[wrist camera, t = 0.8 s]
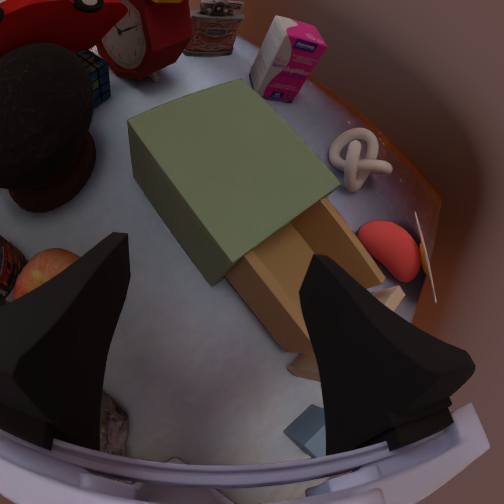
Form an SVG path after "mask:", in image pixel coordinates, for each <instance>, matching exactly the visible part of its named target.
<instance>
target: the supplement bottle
mask: <svg viewBox="0 0 504 504" xmlns="http://www.w3.org/2000/svg"><path fill="white" fill-rule="evenodd" d="M26 264H27V262H26V259H25V257H24V256H23V254H22V253H21V252H20V251H19V250H18V249H17V248H16V247H14V246H13V245H12V244H11V242H10V243H9V242H8V241H7V240H6V239H4V238H3V237H2V236H0V306H3V305H5V304H7V303H9V302H11V301H13V294H14V286H15V283H16V280H17V278H18V276H19V274H20V273H21V271H22V270H23V268H24V267H25V266H26Z"/></svg>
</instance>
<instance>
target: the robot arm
mask: <svg viewBox="0 0 504 504" xmlns="http://www.w3.org/2000/svg"><path fill="white" fill-rule="evenodd" d="M130 277H131V274H130V261H129V245H128V234H126V233H117V232H113V233H111V234H110V235H108V236H107V237H106V238H104V239H103V240H102V241H101V242H99V243H98V244H97V245H95V246H94V247H93V248H92V249H90V250H89V251H88V252H87V253H85V254H84V255H83V256H82V257H80V258H79V259H78V260H76V261H75V262H74V263H72V264H71V265H70V266H68V267H67V268H65V269H64V270H63V271H62V272H60V273H59V274H57V275H56V276H54V277H53V278H51V279H50V280H48V281H47V282H45V283H43V284H42V285H40V286H39V287H37V288H35V289H34V290H32V291H30V292H28V293H26V294H24V295H23V296H21V297H19V298H17V299H15V300H13V301H11V302H9V303H7V304H5V305H3V306H0V494H1V495H3V496H4V497H6V498H8V499H9V500H11V501H12V502H14V503H16V504H235V503H234V502H232V501H231V500H230V499H228V498H227V497H225V496H224V495H223V494H221V493H220V492H219V491H217V490H216V489H226V488H251V487H264V486H274V485H283V484H290V483H297V482H303V481H309V480H314V479H319V478H324V477H329V476H333V475H338V474H341V473H346V472H350V471H352V472H351V473H349V474H346V475H343V476H340V477H336V478H333V479H330V480H328V481H327V482H325V483H323V484H320V485H318V486H315V487H311V488H308V489H306V490H305V494H306V497H305V498H299V499H293V500H286V501H279V502H271V503H261V504H416V503H417V502H419V501H420V500H422V499H424V498H425V497H427V496H428V495H430V494H431V493H432V492H434V491H435V490H437V489H438V488H439V487H441V486H442V485H444V484H445V483H446V482H448V481H449V480H450V479H451V478H453V477H454V476H456V475H457V474H458V473H459V472H461V471H462V470H463V469H464V468H465V467H467V466H468V465H469V464H470V463H472V462H473V461H474V460H475V459H477V458H478V457H479V456H481V455H482V454H483V453H485V452H486V451H487V450H488V449H489V448H490V445H489V442H488V440H487V437H486V435H485V432H484V430H483V428H482V425H481V423H480V421H479V418H478V416H477V414H476V412H475V410H474V407H473V405H472V403H468V404H466V405H464V406H461V407H459V408H457V409H455V410H454V411H452V412H451V413H450V411H449V409H448V407H450V406H451V405H452V402H451V400H450V398H449V397H450V396H451V395H452V394H453V393H455V392H456V391H457V390H458V389H459V388H460V387H461V386H462V385H463V384H464V383H465V382H466V381H467V380H468V379H469V378H470V377H471V376H472V375H473V373H474V371H475V364H474V362H473V361H472V359H471V357H470V355H469V354H468V353H467V352H466V351H465V350H462V349H460V348H457V347H455V346H453V345H450V344H448V343H445V342H443V341H441V340H439V339H437V338H435V337H433V336H431V335H429V334H428V333H426V332H424V331H422V330H421V329H419V328H417V327H416V326H414V325H413V324H411V323H409V322H408V321H406V320H405V319H403V318H402V317H400V316H399V315H398V314H396V313H395V312H393V311H392V310H391V309H389V308H388V307H387V306H385V305H384V304H383V303H382V302H380V301H379V300H378V299H377V298H376V297H374V296H373V295H372V294H371V293H370V292H368V291H367V290H366V289H365V288H364V287H363V286H362V285H361V284H359V283H358V282H357V281H356V280H355V279H354V278H353V277H352V276H351V275H350V274H348V273H347V272H346V271H345V270H344V269H343V268H342V267H341V266H340V265H338V264H337V263H336V262H335V261H334V260H332V259H331V258H330V257H328V256H327V255H319V254H313V256H312V259H311V262H310V264H309V267H308V269H307V272H306V275H305V277H304V280H303V282H302V285H301V287H300V290H299V298H300V305H301V311H302V315H303V319H304V322H305V325H306V328H307V332H308V335H309V338H310V341H311V344H312V348H313V351H314V354H315V357H316V361H317V365H318V370H319V376H320V382H321V388H322V396H323V404H324V416H325V433H326V456H323V457H317V458H311V459H305V460H298V461H290V462H282V463H271V464H258V465H234V466H211V465H188V464H185V463H184V462H183V461H181V460H180V459H179V458H172V459H171V460H169V461H168V462H166V463H164V462H156V461H148V460H141V459H135V458H129V457H123V456H118V455H113V454H109V453H104V452H100V451H99V450H100V413H101V398H102V389H103V381H104V373H105V367H106V361H107V355H108V351H109V347H110V344H111V341H112V337H113V334H114V331H115V328H116V325H117V322H118V319H119V316H120V313H121V311H122V308H123V305H124V302H125V299H126V295H127V291H128V286H129V282H130ZM93 473H96V474H100V475H104V476H109V477H113V478H118V479H123V480H128V481H134V483H132V484H126V483H122V482H118V481H114V480H111V479H107V478H104V477H100V476H97V475H94V474H93Z"/></svg>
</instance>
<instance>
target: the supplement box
mask: <svg viewBox="0 0 504 504" xmlns="http://www.w3.org/2000/svg"><path fill="white" fill-rule="evenodd" d="M326 49H327V45H326V43H325V42H324V40H323V39H322V38H321V36H320V34H319V32H318V31H317V29H316V27H314V26H312V25H309V24H306V23H303V22H299V21H295V20H292V19H289V18H285V17H281V16H275V18H274V20H273V22H272V24H271V27H270V29H269V31H268V33H267V35H266V37H265V39H264V42H263V44H262V46H261V48H260V50H259V53H258V55H257V57H256V59H255V62H254V64H253V66H252V69H251V71H250V73H249V76H250V80H251V84H252V88H253V89H254V90H255V91H256V92H257V93H258V94H259V95H260V96H261V97H262V98H266V99H273V100H279V101H285V102H289V103H292V101H293V100H294V98H295V97H296V95H297V93H298V92H299V90H300V89H301V87H302V85H303V84H304V82H305V81H306V79H307V78H308V76H309V74H310V73H311V71H312V70H313V68H314V67H315V65H316V64H317V62H318V61H319V59H320V58H321V56H322V54H323V53H324V52H325V50H326Z"/></svg>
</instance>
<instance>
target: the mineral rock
mask: <svg viewBox="0 0 504 504" xmlns="http://www.w3.org/2000/svg"><path fill="white" fill-rule="evenodd" d="M127 420H128V416H127V414H126V412H124V411H123V410H122V409H121V408H119V407H118V406H117V405H116V404H115V403H114V402H113V401H112V400H111V399H110V398H109V396H108V395H107V394H106V393H104V392H103V391H102V398H101V413H100V450H99V451H100V452H104V453H109V454H113V455H118V456H123V457H126V453H125V446H124V443H125V440H126V439H127V438H126V437H127V432H128V423H127ZM93 474H94V475H97V476H100V477H104V478H107V479H111V480H114V481H115V480H116V478H113V477H109V476H104V475H100V474H96V473H93Z"/></svg>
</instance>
